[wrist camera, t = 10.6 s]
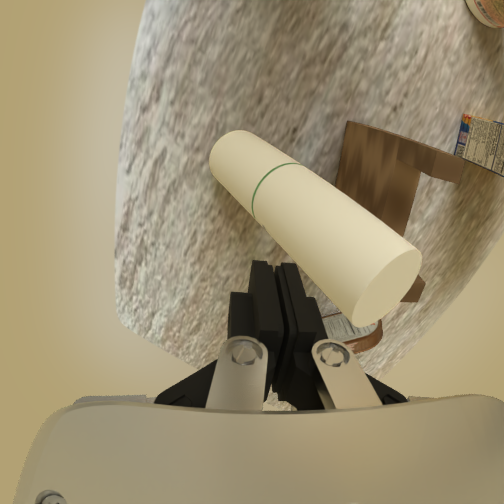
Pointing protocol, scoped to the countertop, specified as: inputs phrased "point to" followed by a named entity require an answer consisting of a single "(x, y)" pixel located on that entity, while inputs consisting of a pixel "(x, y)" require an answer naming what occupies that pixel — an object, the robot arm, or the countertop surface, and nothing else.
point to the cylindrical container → (318, 227)
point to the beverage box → (481, 143)
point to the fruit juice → (488, 12)
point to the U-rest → (390, 176)
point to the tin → (353, 332)
